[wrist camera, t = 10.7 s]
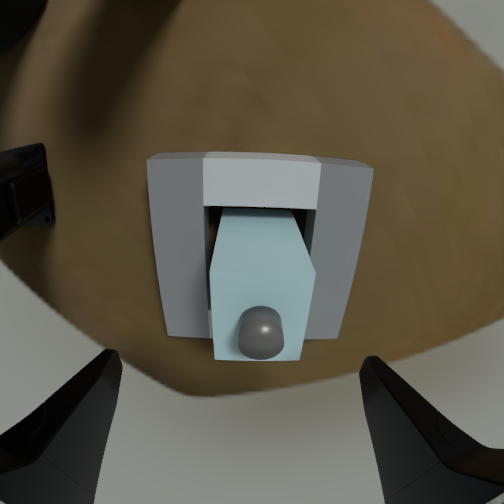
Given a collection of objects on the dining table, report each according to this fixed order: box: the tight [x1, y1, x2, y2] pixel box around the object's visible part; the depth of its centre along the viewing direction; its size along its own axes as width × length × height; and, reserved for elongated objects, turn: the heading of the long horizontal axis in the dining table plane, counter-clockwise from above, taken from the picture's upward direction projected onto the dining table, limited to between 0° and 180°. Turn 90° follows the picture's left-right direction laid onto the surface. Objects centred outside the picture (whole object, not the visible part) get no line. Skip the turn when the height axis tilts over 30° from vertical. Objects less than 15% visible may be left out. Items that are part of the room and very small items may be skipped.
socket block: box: [147, 152, 374, 339], centre depth 20 cm, size 13×13×2 cm
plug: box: [210, 208, 316, 361], centre depth 17 cm, size 4×6×10 cm
